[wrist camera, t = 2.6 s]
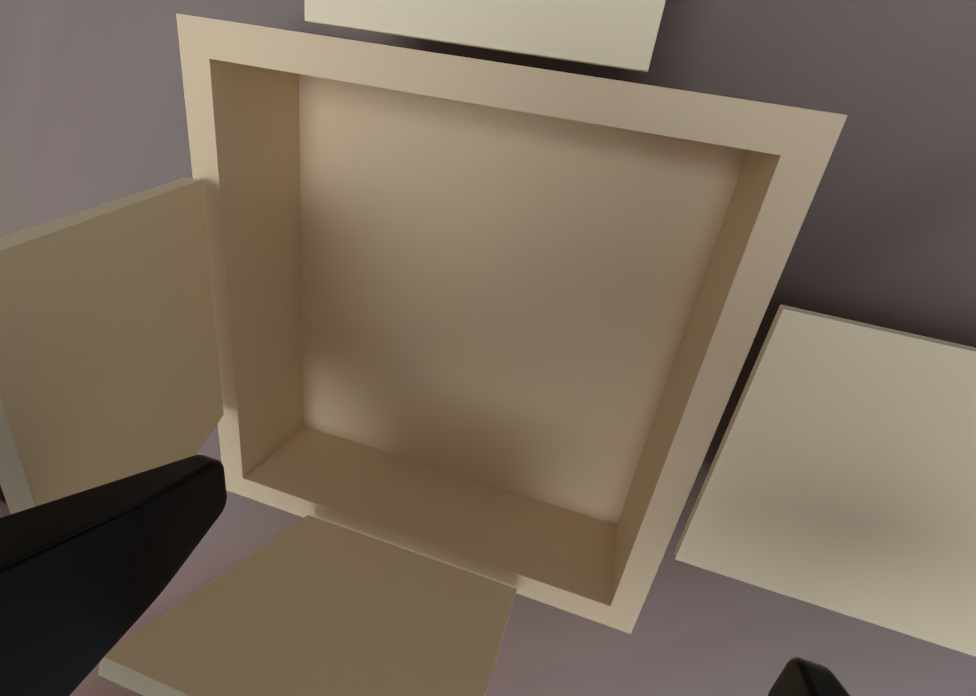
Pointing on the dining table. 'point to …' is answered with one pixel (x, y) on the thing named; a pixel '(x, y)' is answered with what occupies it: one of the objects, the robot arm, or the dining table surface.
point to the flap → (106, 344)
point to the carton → (559, 319)
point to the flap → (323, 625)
